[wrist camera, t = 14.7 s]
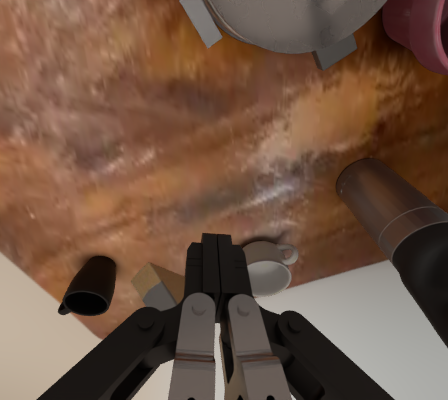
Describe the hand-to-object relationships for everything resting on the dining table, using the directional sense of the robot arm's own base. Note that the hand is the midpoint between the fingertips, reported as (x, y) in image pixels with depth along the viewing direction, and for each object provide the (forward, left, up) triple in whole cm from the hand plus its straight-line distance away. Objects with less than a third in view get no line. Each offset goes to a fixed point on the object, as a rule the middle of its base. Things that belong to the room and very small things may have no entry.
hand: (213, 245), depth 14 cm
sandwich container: (+4, +43, -29) cm, 52 cm away
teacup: (-16, +29, -29) cm, 44 cm away
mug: (+20, +38, -29) cm, 52 cm away
